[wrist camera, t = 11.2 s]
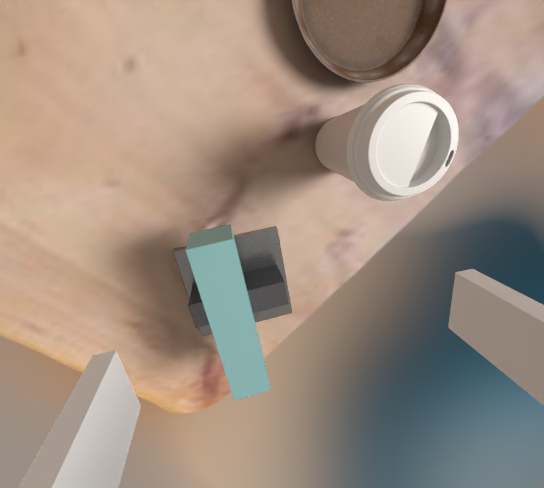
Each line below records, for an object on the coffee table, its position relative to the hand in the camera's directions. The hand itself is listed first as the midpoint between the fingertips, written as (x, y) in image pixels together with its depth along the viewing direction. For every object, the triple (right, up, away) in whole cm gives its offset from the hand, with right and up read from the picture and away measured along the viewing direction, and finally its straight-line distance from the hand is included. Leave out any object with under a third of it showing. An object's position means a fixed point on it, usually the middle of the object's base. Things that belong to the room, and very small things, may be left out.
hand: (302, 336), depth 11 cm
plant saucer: (+9, +31, +21) cm, 38 cm away
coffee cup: (+8, +17, +25) cm, 31 cm away
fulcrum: (-6, -2, +29) cm, 30 cm away
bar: (-6, -4, +24) cm, 25 cm away
